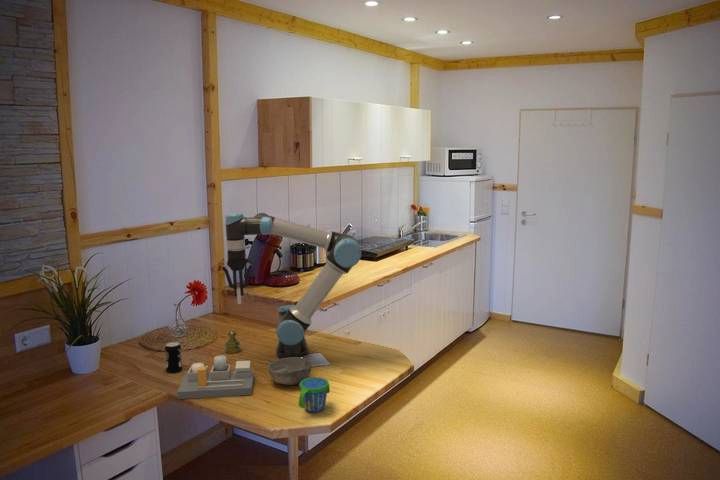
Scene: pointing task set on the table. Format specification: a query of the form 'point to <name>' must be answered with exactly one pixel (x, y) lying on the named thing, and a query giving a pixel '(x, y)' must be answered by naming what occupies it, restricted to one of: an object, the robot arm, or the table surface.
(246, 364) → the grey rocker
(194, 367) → the white rounded cube
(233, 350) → the green figurine
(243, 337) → the table surface
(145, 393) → the table surface
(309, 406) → the snack cup
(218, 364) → the pale blue rounded cube
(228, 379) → the console
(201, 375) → the orange slider
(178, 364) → the beverage can
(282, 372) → the bowl
